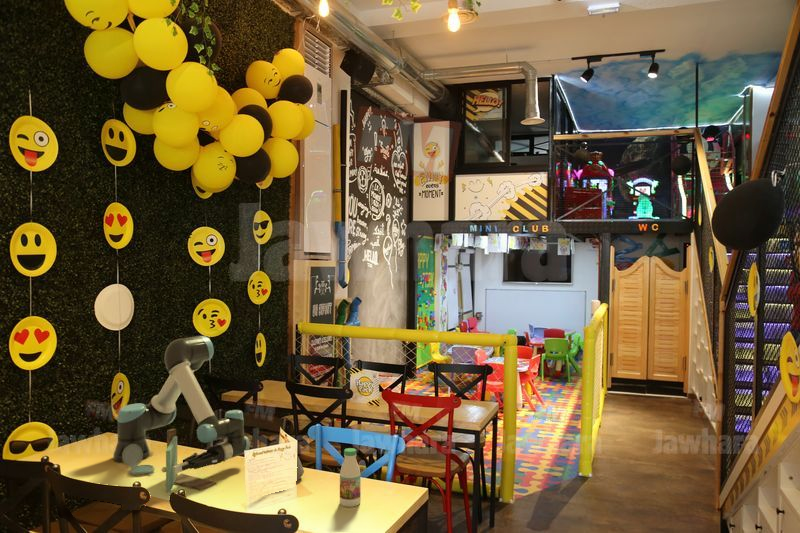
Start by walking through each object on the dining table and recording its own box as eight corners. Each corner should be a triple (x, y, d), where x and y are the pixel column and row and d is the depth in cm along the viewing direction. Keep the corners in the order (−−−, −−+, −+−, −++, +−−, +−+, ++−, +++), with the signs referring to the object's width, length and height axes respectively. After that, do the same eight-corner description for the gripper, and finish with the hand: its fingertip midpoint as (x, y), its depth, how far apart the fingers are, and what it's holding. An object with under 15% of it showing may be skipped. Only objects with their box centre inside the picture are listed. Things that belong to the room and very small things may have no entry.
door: (168, 475, 250) (168, 436, 249) (177, 474, 250) (177, 436, 250) (160, 492, 231) (160, 451, 231) (170, 492, 231) (170, 450, 231)
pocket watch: (140, 441, 266) (162, 446, 258) (140, 465, 266) (163, 472, 258) (119, 447, 257) (142, 452, 249) (119, 472, 257) (142, 479, 249)
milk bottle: (339, 499, 228) (339, 446, 228) (360, 498, 229) (360, 446, 228) (339, 507, 220) (339, 453, 220) (360, 507, 221) (360, 452, 221)
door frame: (162, 480, 247) (162, 431, 247) (177, 474, 254) (177, 427, 254) (201, 490, 237) (201, 439, 236) (216, 484, 244) (216, 434, 243)
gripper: (230, 464, 251) (185, 482, 231) (208, 459, 258) (162, 476, 237) (230, 446, 251) (185, 463, 231) (207, 442, 257) (162, 457, 237)
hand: (173, 470), depth 234 cm, fingers closed
